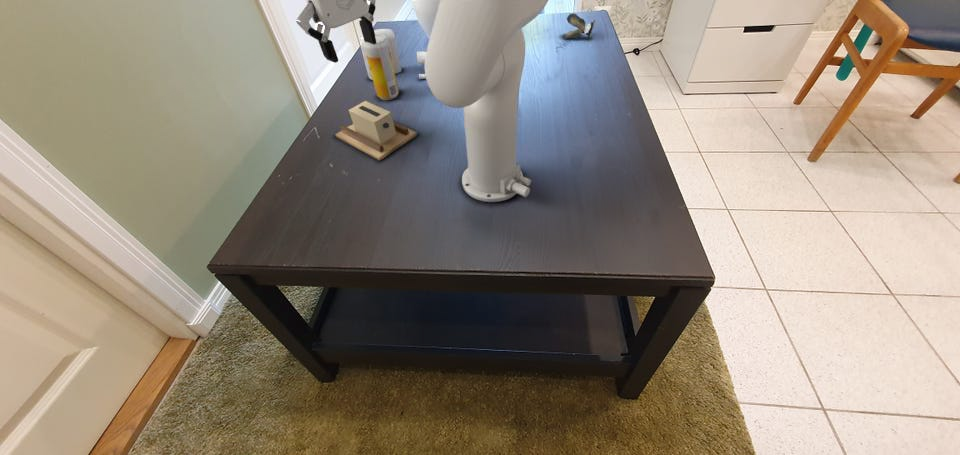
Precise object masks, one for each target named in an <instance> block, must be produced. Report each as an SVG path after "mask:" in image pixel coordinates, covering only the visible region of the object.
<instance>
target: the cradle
mask: <svg viewBox="0 0 960 455" xmlns="http://www.w3.org/2000/svg"><path fill="white" fill-rule="evenodd" d="M393 123H394V127H395V131H396V135H395V136H394V137H392V138H391V139H389V140H388V141H386V142H385V143H383V144H382V145H381V144H379V143H377V142H375V141H373V140H371V139H369V138H367V137H365V136H363V135H361V134H359V133H357V132H356V130H355V127H354V124H353V123H352V124H350V125H349V126H346V125H342V126H340V131H339V132H337V133H334V136H335V137H336V138H337V139H339V140H341V141H343V142H344V143H346V144H348V145H349V146H352V147H354V148H355V149H357V150H359V151H361V152H363V153H365V154H367V155H369V156H370V157H372V158H374V159H375V160H376V159H377V161H381V160H383V159H384V158H386V157H387V156H389V155H390V154H391V153H393V152H395V151H396V150H397V149H399V148H400V147H402V146H403V145H405V144H406V143H407V142H409V141H410V140H412V139H414V138H415V137H416V136H417V135H418V133H417V131H415V130H412V129H410V128H408V127H406V126H404V125H402V124H399V123H397V122H395V121H393Z"/></svg>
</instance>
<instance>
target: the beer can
mask: <svg viewBox="0 0 960 455" xmlns="http://www.w3.org/2000/svg"><path fill="white" fill-rule="evenodd" d="M375 38H376V44H371V43H368V42H365V41H364V49H365V53H366V57H367V60H368V64H369V68H370V71H371V75H372V79H373V80H372V82H373V85H374V90H375V93H376V96H377V97H378V98H379V99H381V100H382V101H390V100H393V99H396V98H397V97H398V95H399V93H400V89H399V85H398V80H397V75H396V74H395V71H394V66H393V62H392V57H391V53H390V48H389V44H388V41H387V39H386V38H385V36H383V35H375Z"/></svg>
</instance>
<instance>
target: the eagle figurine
mask: <svg viewBox="0 0 960 455" xmlns="http://www.w3.org/2000/svg"><path fill="white" fill-rule="evenodd" d="M566 21H567V23H568V24H569V25H571V26H573V27H575V28H577V29H573V30H570V31H568V32H567V33H565V34H563V35H562V36H561V37H562V39H565V40H566V39H567V40H568V39H570V38H574V37H575V38H576V37H580V36H581V35H582V34H584V35H586V36H587V38H588V39H589V40H590V39H591V34H593V28H594V25H595V22H596V19H593V21H591V22H590V23H586V21H585V20H584V18H582V17H580V16H579V15H578V14H577V13H569V14H568V16H567V17H566Z"/></svg>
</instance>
